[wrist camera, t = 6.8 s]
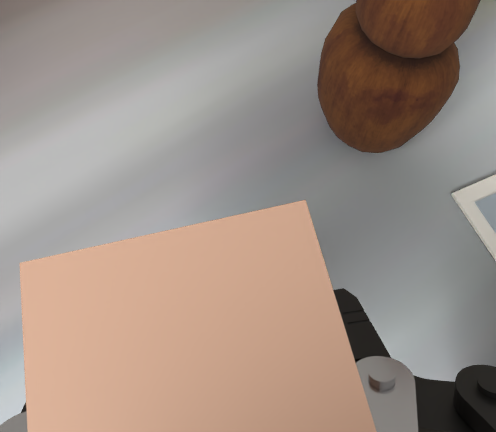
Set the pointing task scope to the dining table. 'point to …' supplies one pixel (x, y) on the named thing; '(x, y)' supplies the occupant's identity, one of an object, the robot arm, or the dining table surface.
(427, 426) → the robot arm
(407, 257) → the dining table surface
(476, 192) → the page
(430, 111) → the wooden figurine
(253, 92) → the dining table surface
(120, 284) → the brick
